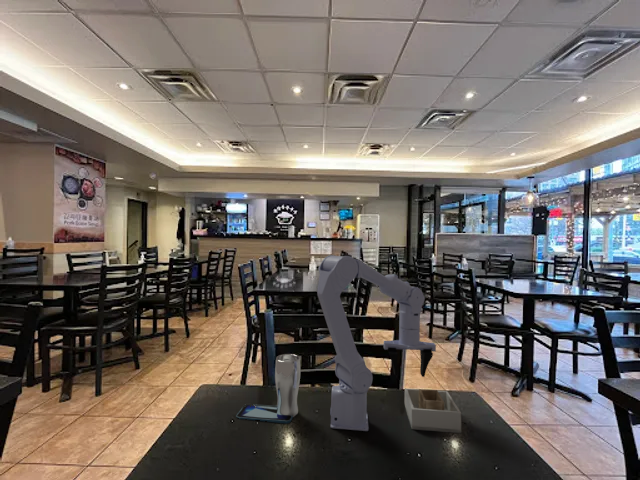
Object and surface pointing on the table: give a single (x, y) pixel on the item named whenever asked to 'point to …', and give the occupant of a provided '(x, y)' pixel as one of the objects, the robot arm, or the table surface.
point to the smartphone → (262, 414)
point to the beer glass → (287, 384)
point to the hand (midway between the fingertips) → (408, 374)
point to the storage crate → (432, 413)
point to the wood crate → (430, 400)
